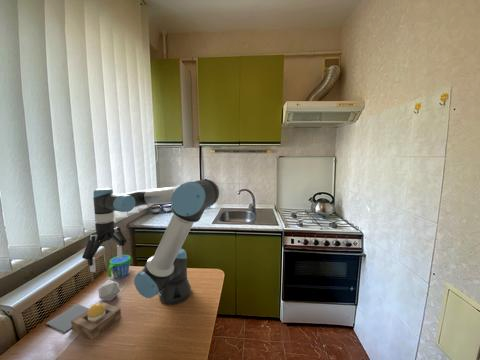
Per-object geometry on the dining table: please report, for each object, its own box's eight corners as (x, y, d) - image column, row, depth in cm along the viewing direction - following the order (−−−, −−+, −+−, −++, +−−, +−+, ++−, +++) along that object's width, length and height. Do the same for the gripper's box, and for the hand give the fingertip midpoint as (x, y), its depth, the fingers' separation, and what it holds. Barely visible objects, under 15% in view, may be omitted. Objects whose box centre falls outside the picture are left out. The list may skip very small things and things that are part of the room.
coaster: (95, 312, 92) (95, 310, 92) (64, 333, 81) (64, 331, 81) (77, 305, 96) (77, 303, 96) (46, 324, 85) (46, 323, 85)
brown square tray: (120, 317, 89) (120, 308, 89) (92, 339, 78) (91, 330, 78) (101, 309, 94) (100, 301, 93) (71, 330, 82) (71, 320, 82)
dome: (109, 318, 87) (108, 301, 87) (94, 329, 82) (93, 311, 81) (99, 314, 90) (98, 298, 89) (84, 324, 84) (83, 307, 83)
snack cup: (115, 285, 111) (114, 267, 110) (101, 280, 115) (100, 263, 114) (138, 270, 126) (138, 254, 125) (126, 267, 130) (125, 251, 129)
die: (124, 296, 103) (122, 276, 107) (113, 299, 95) (110, 276, 99) (108, 303, 103) (105, 282, 107) (94, 306, 95) (93, 283, 99)
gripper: (122, 213, 110) (124, 251, 113) (69, 228, 87) (73, 276, 89) (133, 215, 108) (134, 254, 110) (81, 230, 84) (85, 280, 87)
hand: (107, 264), depth 100 cm, fingers open, 13 cm apart
